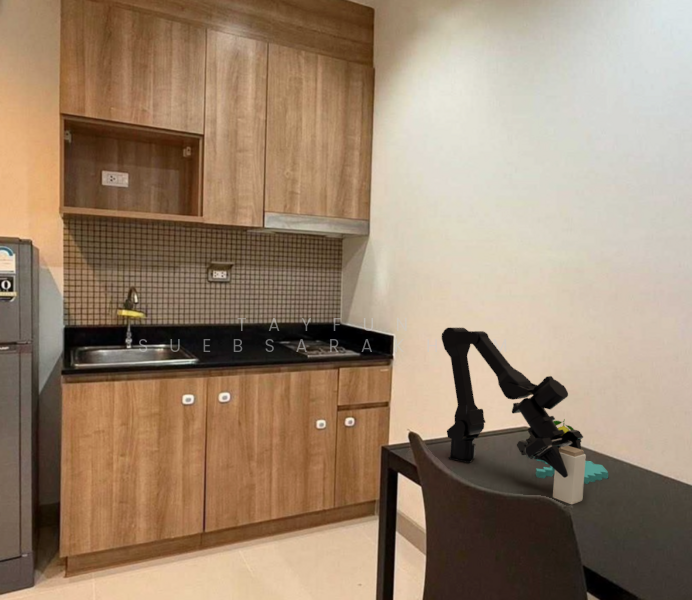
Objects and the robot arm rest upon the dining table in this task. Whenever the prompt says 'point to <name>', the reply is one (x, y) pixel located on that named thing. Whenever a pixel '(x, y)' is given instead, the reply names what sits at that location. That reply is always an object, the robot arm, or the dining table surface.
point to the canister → (570, 476)
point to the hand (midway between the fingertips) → (574, 474)
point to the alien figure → (590, 474)
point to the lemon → (563, 426)
